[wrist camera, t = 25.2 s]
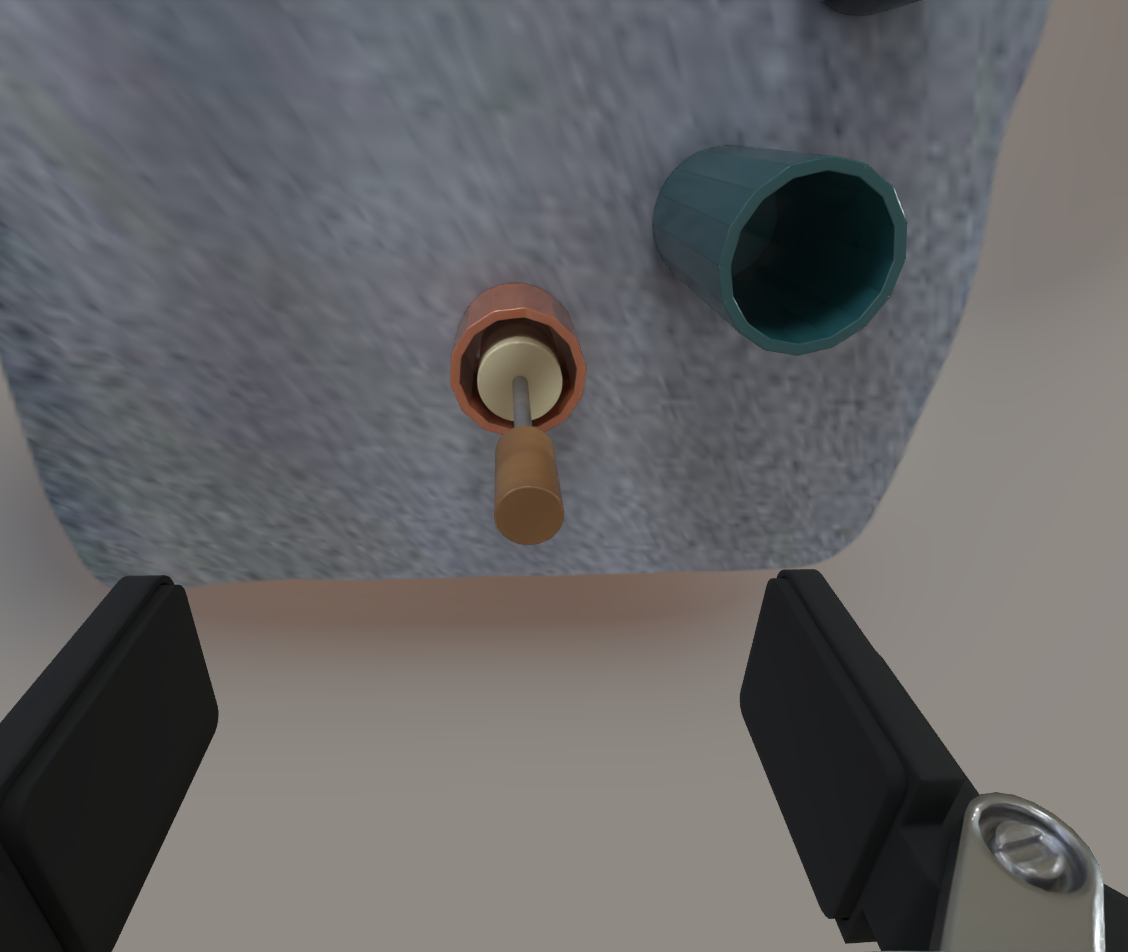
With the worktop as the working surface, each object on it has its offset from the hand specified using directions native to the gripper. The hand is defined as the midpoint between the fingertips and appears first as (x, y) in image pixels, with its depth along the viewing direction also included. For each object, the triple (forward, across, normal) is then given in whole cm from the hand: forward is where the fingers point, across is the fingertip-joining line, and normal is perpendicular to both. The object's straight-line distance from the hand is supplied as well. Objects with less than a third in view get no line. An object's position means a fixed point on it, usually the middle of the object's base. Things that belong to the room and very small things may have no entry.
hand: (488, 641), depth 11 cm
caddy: (+30, -1, +4) cm, 31 cm away
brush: (+30, -1, +4) cm, 30 cm away
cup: (+30, -12, -3) cm, 33 cm away
